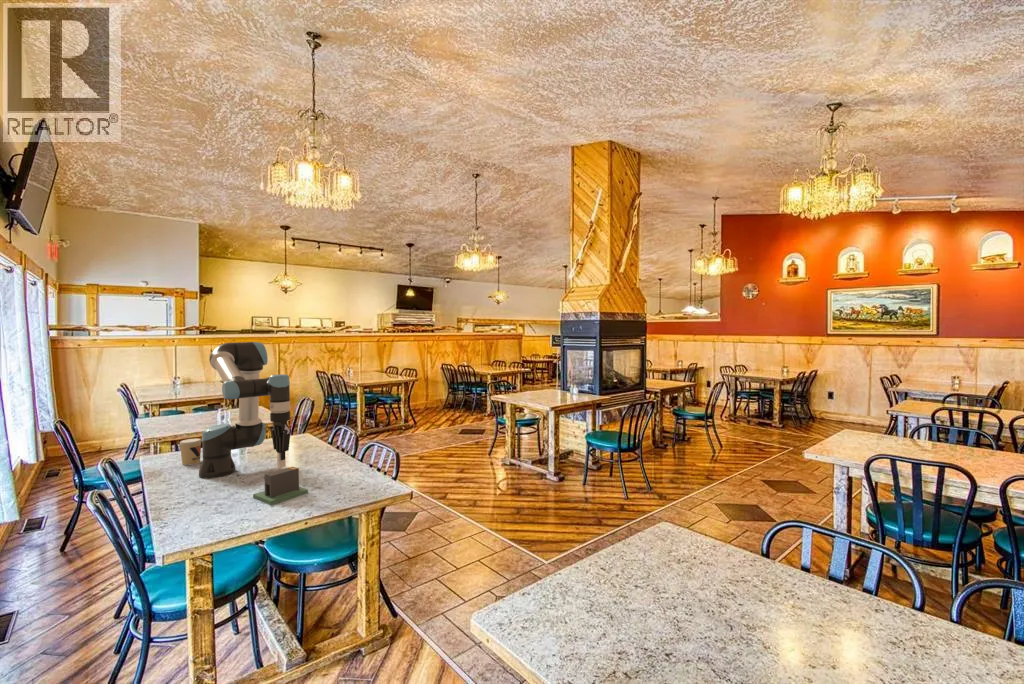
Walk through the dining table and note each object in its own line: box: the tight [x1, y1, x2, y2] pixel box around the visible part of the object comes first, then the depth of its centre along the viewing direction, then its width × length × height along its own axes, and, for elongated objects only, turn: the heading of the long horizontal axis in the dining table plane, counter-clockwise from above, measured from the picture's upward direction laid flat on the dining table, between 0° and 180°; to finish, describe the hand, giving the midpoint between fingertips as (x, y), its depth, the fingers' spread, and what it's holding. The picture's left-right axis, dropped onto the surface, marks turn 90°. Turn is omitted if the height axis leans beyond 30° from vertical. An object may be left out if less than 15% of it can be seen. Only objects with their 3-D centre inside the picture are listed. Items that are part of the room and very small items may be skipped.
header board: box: [252, 486, 309, 506], centre depth 193 cm, size 14×16×6 cm
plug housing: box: [263, 466, 300, 498], centre depth 192 cm, size 5×12×9 cm, turn 145°
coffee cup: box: [179, 438, 202, 466], centre depth 241 cm, size 9×9×12 cm
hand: (281, 467), depth 192 cm, fingers closed
